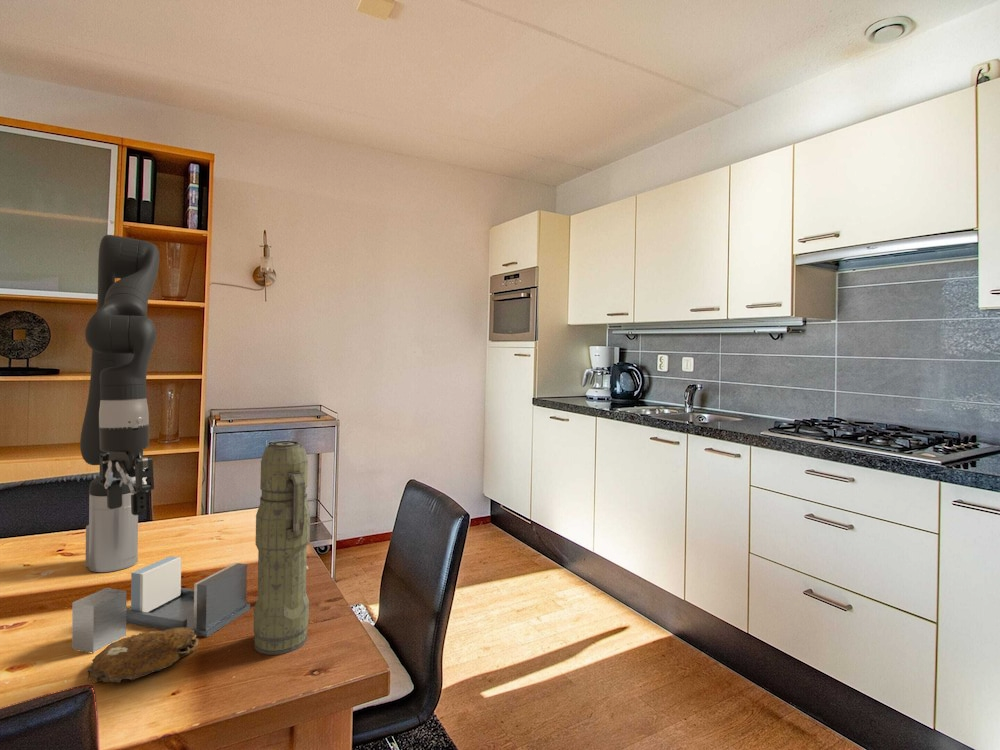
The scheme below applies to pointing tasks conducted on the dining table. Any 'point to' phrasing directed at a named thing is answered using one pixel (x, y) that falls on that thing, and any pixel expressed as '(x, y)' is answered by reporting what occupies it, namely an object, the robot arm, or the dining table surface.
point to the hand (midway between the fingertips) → (126, 511)
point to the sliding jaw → (156, 584)
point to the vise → (201, 604)
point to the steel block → (98, 619)
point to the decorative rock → (142, 654)
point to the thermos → (282, 550)
